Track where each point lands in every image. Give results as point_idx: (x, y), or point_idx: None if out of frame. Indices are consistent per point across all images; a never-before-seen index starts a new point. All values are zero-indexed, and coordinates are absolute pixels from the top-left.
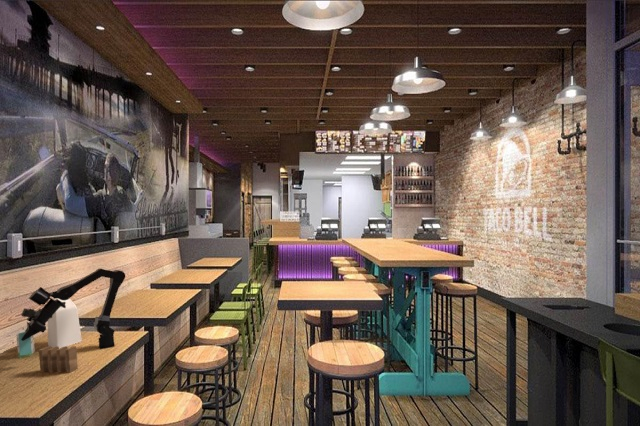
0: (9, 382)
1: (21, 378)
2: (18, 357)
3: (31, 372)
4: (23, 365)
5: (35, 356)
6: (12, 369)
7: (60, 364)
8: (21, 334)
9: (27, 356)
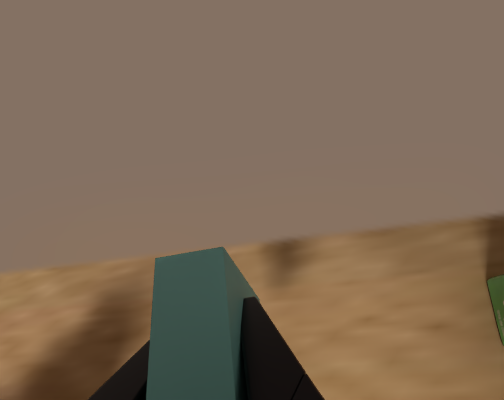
0: (58, 280)
1: (58, 327)
2: (490, 278)
3: (107, 376)
4: (292, 321)
5: (481, 393)
6: (257, 271)
7: None
8: (165, 307)
9: (500, 333)
